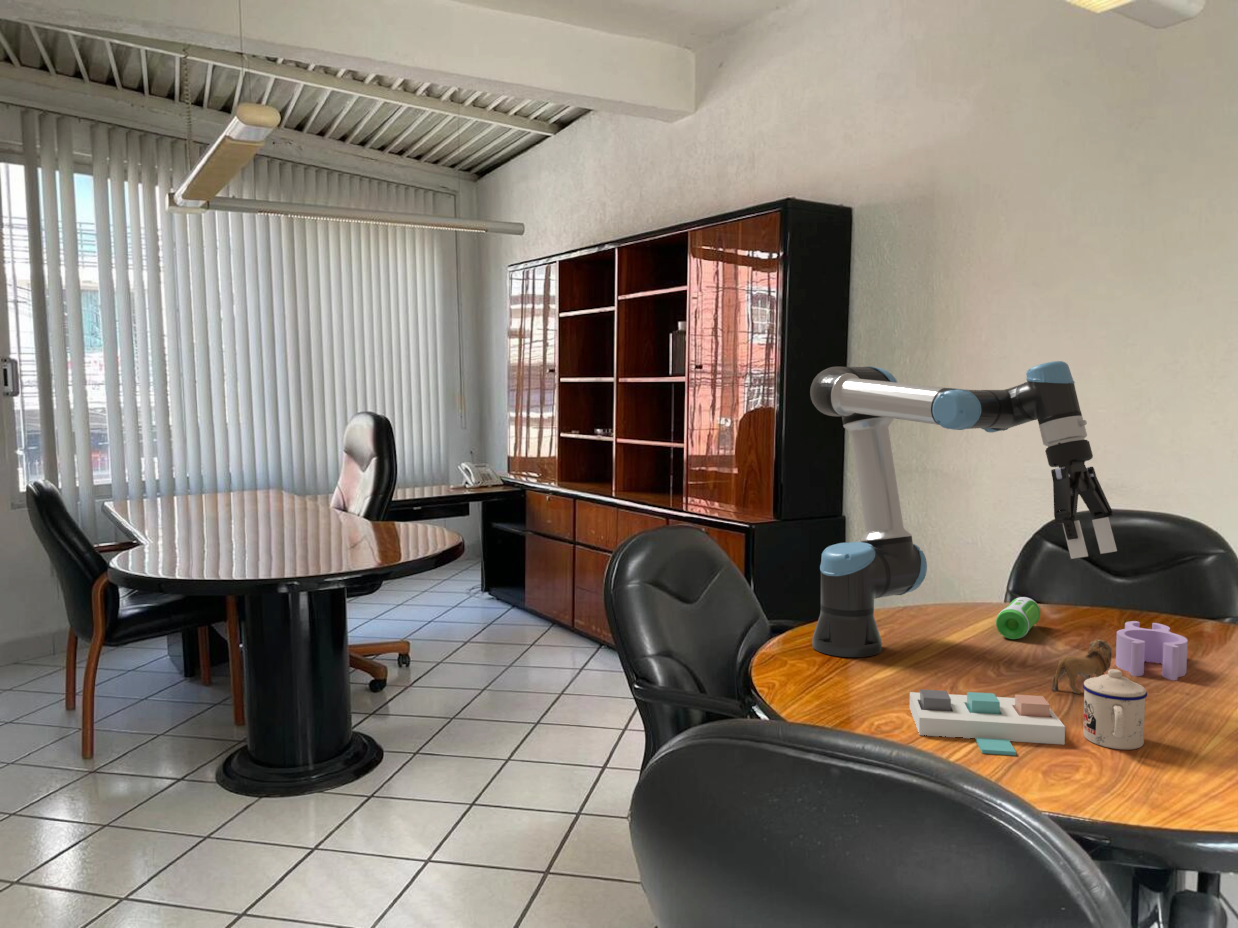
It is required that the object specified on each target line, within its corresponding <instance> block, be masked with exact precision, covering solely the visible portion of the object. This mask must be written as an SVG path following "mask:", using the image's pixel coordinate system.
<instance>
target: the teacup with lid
mask: <svg viewBox="0 0 1238 928" xmlns="http://www.w3.org/2000/svg"><path fill="white" fill-rule="evenodd" d="M1084 681H1085V682H1084ZM1084 681H1083V684H1082V688H1083V689H1084V692H1083V693H1084V694H1083V720H1082V721H1083V724H1082V725H1083V726H1082V728H1083V729H1082V734H1083V737H1084V738H1085V739H1086V740H1088V741H1089V742H1090V743H1092V744H1095V745H1097V746H1101V747H1104V748H1109V749H1112V750H1113V749H1114V750H1126V751H1127V750H1136V749H1139V748H1141V747H1142V746H1143V745H1144V742H1145V716H1146V715H1145V714H1146V713H1145V712H1146V711H1145V710H1146V698H1147V697H1148V693H1147V690H1146V688H1145V687H1144V686H1143V685H1141V684H1140V683H1137V682H1135V681H1132V680H1131V679H1129V678H1127V677H1126V676H1123V672H1122V671H1121V669H1116V668H1109V669H1108V670H1107V673H1104V675H1101V676H1099V677H1097V676H1094V677H1090V678H1089V679H1087V680H1085V679H1084Z"/></svg>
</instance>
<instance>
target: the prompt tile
mask: <svg viewBox="0 0 1238 928" xmlns="http://www.w3.org/2000/svg"><path fill="white" fill-rule="evenodd" d="M975 742H976V744H977V747H978V748H979V751H981V753H982V754H989V755H1002V756H1014V757H1015V756H1017V751H1016V749H1015V748H1014V746H1013V745H1012V743H1011V741H1009V740H1006V739H990V738H976V739H975Z"/></svg>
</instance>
